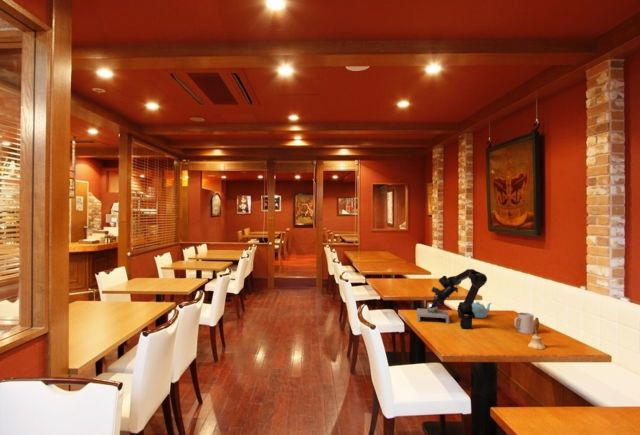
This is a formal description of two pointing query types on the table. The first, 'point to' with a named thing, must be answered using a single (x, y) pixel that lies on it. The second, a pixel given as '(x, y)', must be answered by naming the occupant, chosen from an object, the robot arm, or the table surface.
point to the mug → (525, 323)
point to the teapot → (480, 310)
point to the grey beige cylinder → (431, 310)
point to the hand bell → (536, 337)
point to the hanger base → (432, 314)
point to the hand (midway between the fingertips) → (430, 306)
